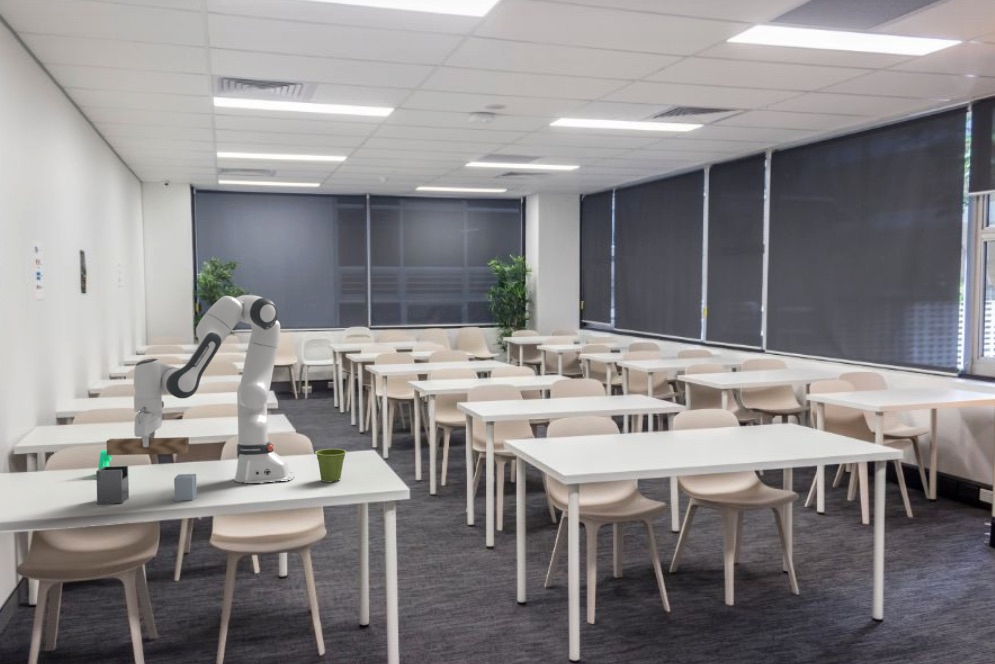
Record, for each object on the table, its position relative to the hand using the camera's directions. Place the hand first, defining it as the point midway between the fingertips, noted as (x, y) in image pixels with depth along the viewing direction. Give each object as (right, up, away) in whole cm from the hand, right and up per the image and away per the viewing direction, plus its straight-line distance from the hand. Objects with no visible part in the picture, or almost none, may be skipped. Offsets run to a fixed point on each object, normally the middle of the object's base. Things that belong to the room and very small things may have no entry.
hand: (148, 445), depth 272 cm
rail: (0, -3, 0) cm, 3 cm away
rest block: (+12, -19, +3) cm, 23 cm away
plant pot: (+57, -18, +30) cm, 67 cm away
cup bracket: (-12, -19, -1) cm, 23 cm away
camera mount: (-32, -18, +38) cm, 53 cm away
